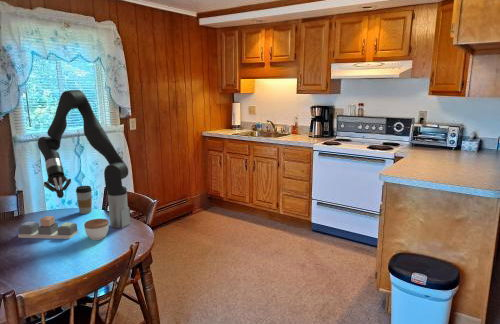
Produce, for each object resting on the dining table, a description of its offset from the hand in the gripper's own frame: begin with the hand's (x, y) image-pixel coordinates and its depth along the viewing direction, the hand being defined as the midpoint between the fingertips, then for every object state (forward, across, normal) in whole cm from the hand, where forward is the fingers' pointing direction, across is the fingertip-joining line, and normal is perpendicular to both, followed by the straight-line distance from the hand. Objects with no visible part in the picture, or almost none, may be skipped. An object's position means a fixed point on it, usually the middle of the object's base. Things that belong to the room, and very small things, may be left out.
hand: (60, 197), depth 176 cm
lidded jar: (+27, +11, -2) cm, 29 cm away
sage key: (+17, 0, +4) cm, 18 cm away
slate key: (+9, -15, +12) cm, 21 cm away
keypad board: (+15, -7, +10) cm, 19 cm away
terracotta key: (+11, -7, +6) cm, 14 cm away
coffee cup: (-3, +15, +28) cm, 31 cm away
